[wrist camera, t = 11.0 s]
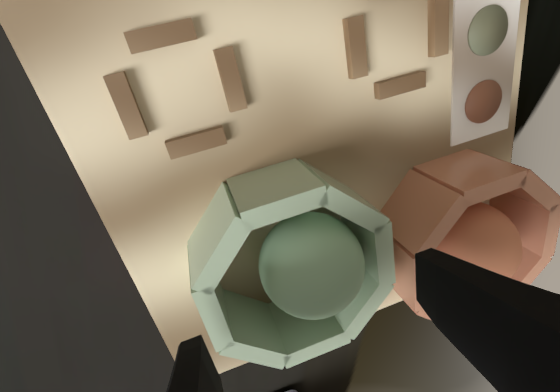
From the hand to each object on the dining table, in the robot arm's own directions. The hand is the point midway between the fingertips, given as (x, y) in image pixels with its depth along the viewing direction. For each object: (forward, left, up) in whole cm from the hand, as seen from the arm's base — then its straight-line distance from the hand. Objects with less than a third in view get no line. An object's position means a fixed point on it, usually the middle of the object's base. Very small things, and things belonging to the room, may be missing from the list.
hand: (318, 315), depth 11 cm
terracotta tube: (-2, -8, -5) cm, 10 cm away
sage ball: (0, 0, -4) cm, 4 cm away
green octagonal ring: (0, 0, -5) cm, 5 cm away
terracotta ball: (-2, -8, -4) cm, 9 cm away
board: (+3, -3, -5) cm, 7 cm away
